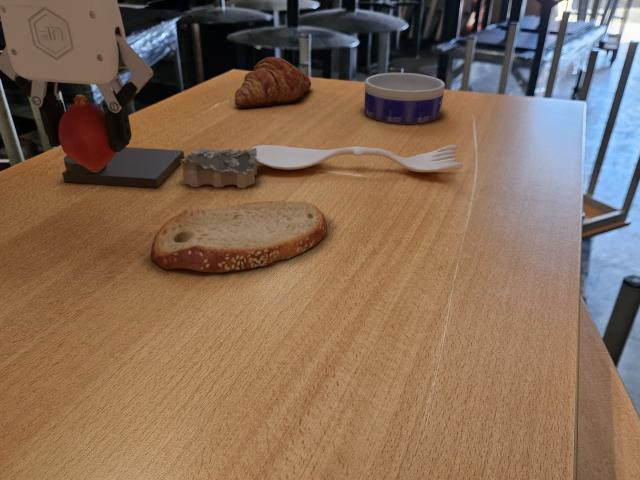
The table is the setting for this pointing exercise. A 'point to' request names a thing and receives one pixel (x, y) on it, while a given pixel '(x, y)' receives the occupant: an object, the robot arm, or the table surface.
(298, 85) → the pastry
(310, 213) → the bread slice
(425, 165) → the white plastic spork
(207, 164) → the egg carton
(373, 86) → the dog bowl
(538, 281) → the table surface
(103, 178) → the scale
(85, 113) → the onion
